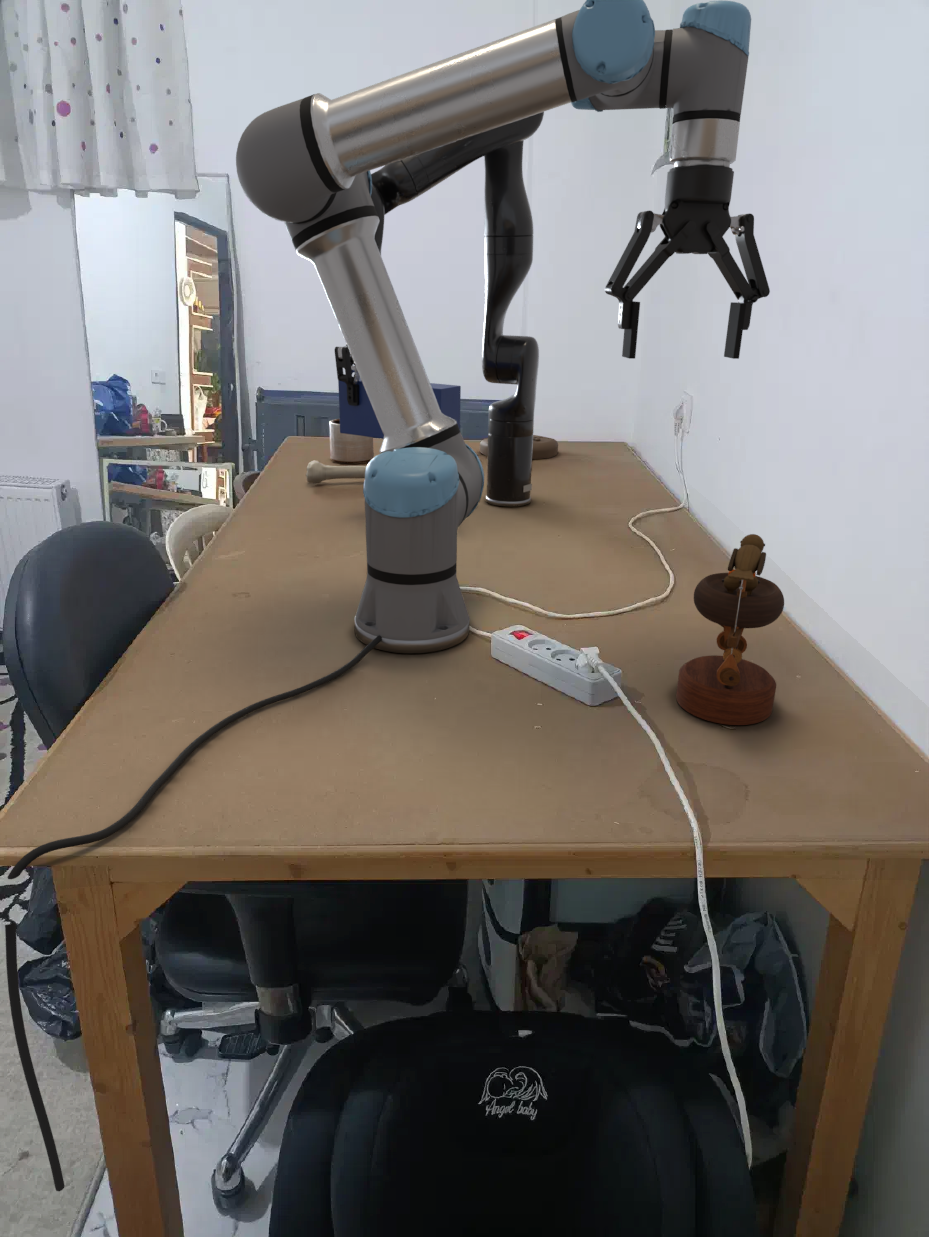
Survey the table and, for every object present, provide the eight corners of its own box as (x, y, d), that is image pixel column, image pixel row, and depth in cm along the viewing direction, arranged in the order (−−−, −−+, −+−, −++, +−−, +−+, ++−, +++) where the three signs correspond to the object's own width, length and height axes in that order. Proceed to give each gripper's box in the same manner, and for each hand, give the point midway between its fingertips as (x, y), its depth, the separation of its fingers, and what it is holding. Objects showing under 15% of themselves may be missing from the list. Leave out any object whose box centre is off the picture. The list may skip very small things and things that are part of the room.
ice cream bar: (484, 468, 207) (485, 451, 205) (477, 446, 232) (478, 431, 231) (570, 469, 208) (571, 452, 206) (554, 447, 233) (554, 431, 232)
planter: (327, 456, 217) (325, 418, 214) (369, 454, 220) (368, 417, 217) (334, 465, 208) (332, 425, 204) (377, 463, 211) (376, 424, 207)
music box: (791, 736, 88) (807, 553, 81) (683, 736, 90) (689, 557, 82) (760, 672, 102) (771, 512, 95) (667, 673, 104) (671, 515, 96)
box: (459, 441, 153) (460, 385, 149) (440, 446, 148) (441, 389, 144) (361, 428, 164) (359, 376, 160) (339, 433, 159) (337, 379, 155)
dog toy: (395, 478, 195) (394, 456, 193) (397, 484, 190) (397, 462, 188) (306, 480, 192) (305, 458, 190) (306, 486, 187) (305, 464, 185)
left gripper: (784, 173, 103) (759, 355, 111) (587, 166, 99) (575, 354, 107) (817, 167, 96) (787, 360, 104) (607, 159, 93) (593, 360, 101)
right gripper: (371, 306, 159) (373, 397, 165) (320, 308, 148) (324, 405, 154) (403, 308, 155) (404, 401, 161) (353, 309, 144) (356, 409, 150)
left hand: (680, 358), depth 106 cm, fingers open, 13 cm apart
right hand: (365, 403), depth 158 cm, fingers closed on box, 6 cm apart
